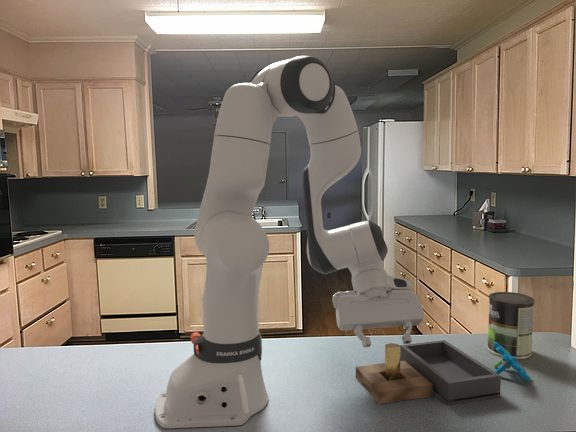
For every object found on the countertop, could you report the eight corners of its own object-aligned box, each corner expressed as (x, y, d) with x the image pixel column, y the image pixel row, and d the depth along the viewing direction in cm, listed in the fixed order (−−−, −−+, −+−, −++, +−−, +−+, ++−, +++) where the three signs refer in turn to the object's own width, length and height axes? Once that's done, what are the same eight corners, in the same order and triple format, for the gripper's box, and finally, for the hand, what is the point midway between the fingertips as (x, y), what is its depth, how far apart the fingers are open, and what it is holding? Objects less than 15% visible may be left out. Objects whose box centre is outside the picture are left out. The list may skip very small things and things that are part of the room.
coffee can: (494, 358, 110) (496, 302, 109) (482, 342, 121) (483, 291, 119) (539, 360, 109) (541, 303, 108) (523, 344, 119) (525, 292, 118)
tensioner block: (378, 403, 90) (378, 392, 90) (355, 377, 102) (355, 366, 102) (432, 395, 93) (432, 384, 93) (404, 370, 105) (404, 360, 104)
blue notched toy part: (537, 383, 94) (500, 345, 97) (514, 400, 96) (479, 362, 98) (528, 368, 105) (495, 334, 107) (507, 384, 106) (475, 350, 108)
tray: (448, 404, 89) (448, 383, 89) (399, 363, 109) (400, 345, 108) (500, 396, 92) (500, 375, 92) (444, 357, 112) (444, 340, 111)
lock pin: (389, 390, 96) (389, 349, 95) (382, 383, 99) (382, 344, 98) (402, 388, 96) (403, 348, 95) (395, 382, 99) (396, 342, 98)
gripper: (332, 285, 104) (344, 342, 96) (416, 280, 107) (435, 334, 99) (328, 298, 109) (339, 354, 101) (408, 293, 112) (425, 346, 104)
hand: (387, 344), depth 100 cm, fingers open, 8 cm apart
